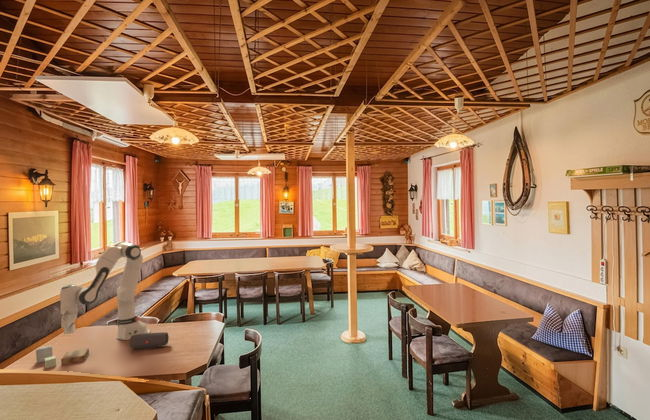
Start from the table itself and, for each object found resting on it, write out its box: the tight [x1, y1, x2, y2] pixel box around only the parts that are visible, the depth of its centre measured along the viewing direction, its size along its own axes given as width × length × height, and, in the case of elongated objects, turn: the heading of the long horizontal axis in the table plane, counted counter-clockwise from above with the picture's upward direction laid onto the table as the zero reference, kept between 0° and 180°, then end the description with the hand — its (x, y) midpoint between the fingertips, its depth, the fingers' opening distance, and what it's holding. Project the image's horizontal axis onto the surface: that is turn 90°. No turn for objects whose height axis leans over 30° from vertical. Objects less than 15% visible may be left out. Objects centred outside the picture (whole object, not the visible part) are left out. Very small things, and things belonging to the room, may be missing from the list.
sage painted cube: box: [44, 355, 57, 369], centre depth 206 cm, size 5×5×5 cm
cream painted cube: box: [63, 323, 76, 335], centre depth 220 cm, size 5×5×5 cm
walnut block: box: [60, 348, 90, 366], centre depth 215 cm, size 12×12×4 cm
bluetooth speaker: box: [129, 331, 170, 350], centre depth 229 cm, size 23×9×10 cm, turn 99°
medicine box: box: [35, 344, 54, 364], centre depth 214 cm, size 8×4×9 cm, turn 129°
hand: (69, 330), depth 220 cm, fingers closed on cream painted cube, 5 cm apart
